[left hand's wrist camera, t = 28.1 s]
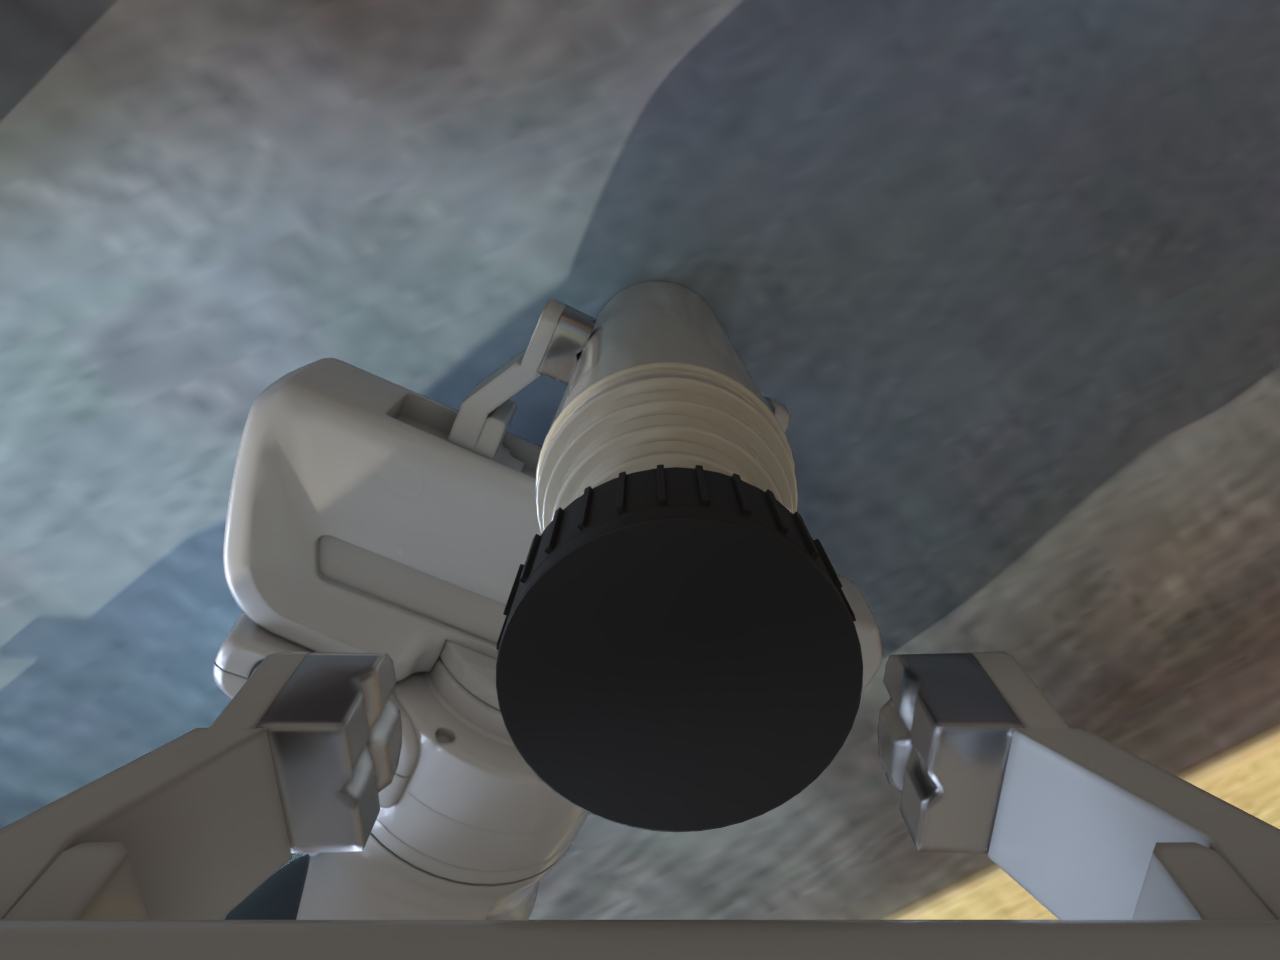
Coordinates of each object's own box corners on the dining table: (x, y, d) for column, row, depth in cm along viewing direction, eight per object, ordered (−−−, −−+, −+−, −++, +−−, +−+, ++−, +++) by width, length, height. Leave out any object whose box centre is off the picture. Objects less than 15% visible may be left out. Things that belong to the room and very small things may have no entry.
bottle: (587, 411, 29) (479, 803, 10) (590, 277, 27) (468, 449, 8) (718, 417, 29) (849, 818, 10) (728, 283, 27) (908, 468, 9)
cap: (644, 793, 11) (644, 890, 10) (448, 587, 10) (411, 657, 8) (894, 639, 10) (939, 718, 9) (709, 394, 9) (722, 433, 8)
